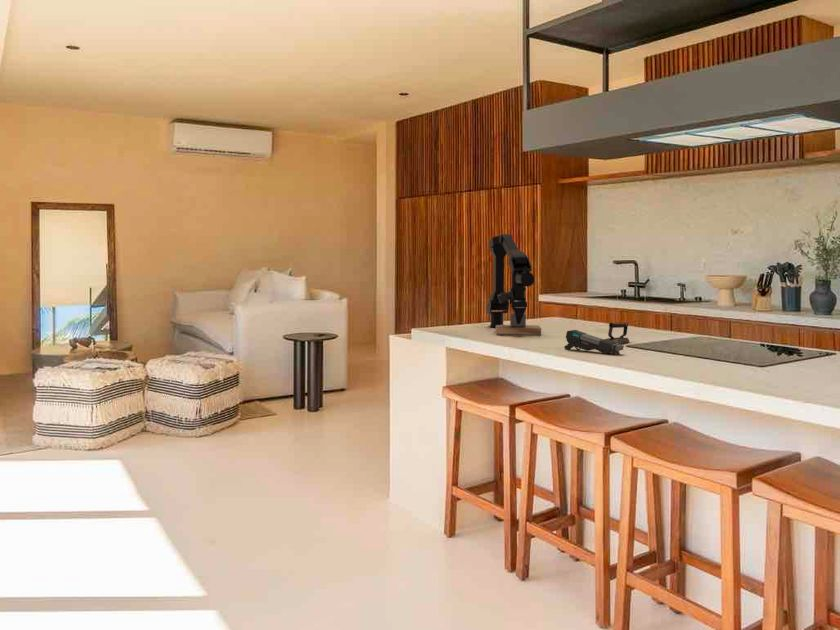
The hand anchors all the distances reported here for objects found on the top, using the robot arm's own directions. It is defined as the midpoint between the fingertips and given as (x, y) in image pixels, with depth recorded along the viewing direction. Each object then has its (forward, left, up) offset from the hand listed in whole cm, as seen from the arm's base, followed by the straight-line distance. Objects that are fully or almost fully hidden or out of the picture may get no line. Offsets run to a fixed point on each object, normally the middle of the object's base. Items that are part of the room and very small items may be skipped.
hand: (517, 323), depth 300 cm
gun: (+48, +23, -5) cm, 54 cm away
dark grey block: (0, 0, -3) cm, 3 cm away
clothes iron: (+25, +36, -5) cm, 44 cm away
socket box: (0, 0, -4) cm, 5 cm away
